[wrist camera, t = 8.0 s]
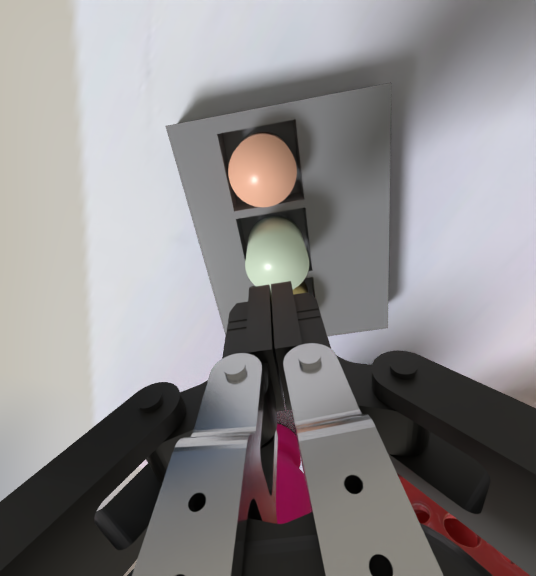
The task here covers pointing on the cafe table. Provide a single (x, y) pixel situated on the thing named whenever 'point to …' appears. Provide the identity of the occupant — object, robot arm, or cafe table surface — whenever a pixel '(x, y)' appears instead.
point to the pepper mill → (289, 479)
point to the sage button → (276, 253)
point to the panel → (301, 200)
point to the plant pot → (459, 533)
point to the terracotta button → (262, 170)
